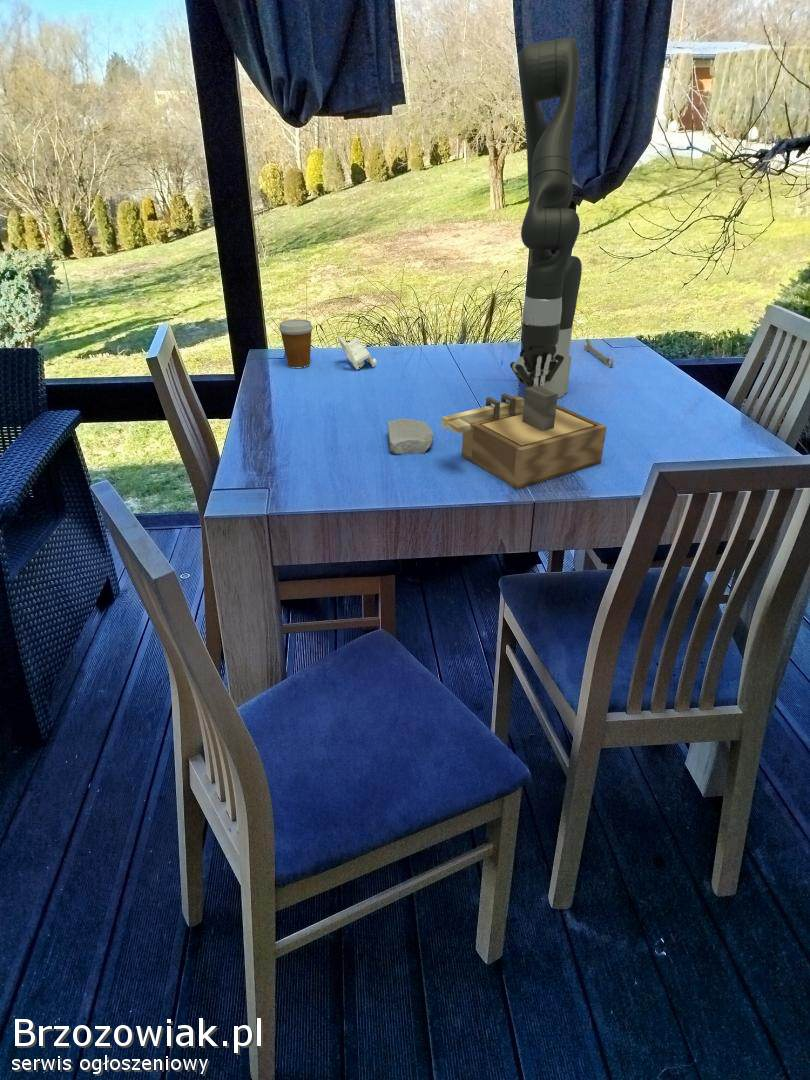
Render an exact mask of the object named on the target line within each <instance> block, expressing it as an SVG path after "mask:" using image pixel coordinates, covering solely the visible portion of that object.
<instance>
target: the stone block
mask: <svg viewBox="0 0 810 1080" xmlns="http://www.w3.org/2000/svg"><path fill="white" fill-rule="evenodd" d="M387 437H388V442H389V444H388V445H389V452H390V453H392V454H393V455H407V454H415V455H416V454H418V455H419V454H425V453H426V452H427V451H428V449H429V448H430V447H431V446H432V444H433V440H434V439H433V438H434V433H433V431H432V429H431V427H430V425H429V424H428V423H427V422H424V421H422V420H417V419H412V418H397V419H392V420H390V421H388V422H387Z"/></svg>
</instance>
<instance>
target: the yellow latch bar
mask: <svg viewBox="0 0 810 1080" xmlns="http://www.w3.org/2000/svg"><path fill="white" fill-rule="evenodd" d="M511 396H512V397H514V398H516V402H515V413H519V412H523V405H524V398H525V397H524V398H523V397H522V396H519V395H516V394H514V395H511ZM494 408H495V405H494V404H491V405H490V406H486V405H485V406H483V407H478V408H474V409H471V410H465V411H461V412H457V413H453V414H449V415H445V416H444V415H443V416H441V427H442V428H443V429H445V430H450V431H452V432H453V433H455V434H458V435H459V434H463V432H467V431H471V425H470V424H471V423H475V422H479V421H483V420H487V419H491V418H494ZM509 410H510V401H509V400H506V402H503V403H501V402H500V414H499V416H503V415H507V414H509Z"/></svg>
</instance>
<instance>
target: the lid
mask: <svg viewBox="0 0 810 1080" xmlns="http://www.w3.org/2000/svg"><path fill="white" fill-rule="evenodd" d="M558 399H559V398H558V394H557V393H554V392H552V391H550V390H547V389H545V388H542V387H540V386H538V385H536V386H532V387H528V386H527V387H525V390H524V404H523V405H524V409H523V414H521V415H517V416H513V417H509V418H505V419H501V420H497V421H493V422H489V423H485V424H482V426H483V427H485V428H487V429H489V430H491V431H493V432H494V433H496V434H498V435H500V436H502V437H504V438H506V439H508V440H510V441H511V442H513V443H515V444H517V445H519V446H521V447H523V446H527V445H530V444H534V443H538V442H541V441H545V440H549V439H552V438H556V437H559V436H563V435H567V434H570V433H574V432H577V431H581V430H585V429H588V428H592V427H594V425H592V424H590V423H588V422H585V421H583V420H581V419H579V418H576V417H574V416H572V415H569V414H567V413H565V412H563V411H560V410H558V409H556V406H557V405H558Z"/></svg>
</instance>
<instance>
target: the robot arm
mask: <svg viewBox="0 0 810 1080" xmlns="http://www.w3.org/2000/svg"><path fill="white" fill-rule="evenodd" d="M518 60H519V61H518V70H519V71H518V73H519V74H518V75H519V84H520V85H519V86H520V94H521V103H522V112H523V119H524V130H525V139H526V161H527V163H526V164H527V166H526V167H527V186H528V198H529V201H528V202H529V203H528V206H527V210H526V213H525V215H524V218H523V221H522V225H521V230H520V238H521V241H522V244H523V245H524V246H525V248H526V249H529V250H531V265H530V266H529V267H528V270H527V274H526V275H527V276H526V286H525V287H526V288H525V298H524V303H523V307H522V309H523V310H522V317H521V318H522V319H521V320H522V321H521V331H520V342H521V350H520V353H519V358H518V359H517V360H516V361H512V362H510V365H509V367H510V368H511V370H512V372H513V373H514V375H515V376H516V379H518V381H519V382H520V383H521V384H523V385H525V386H527V388H528V387H532V386H536V385H538V386H540V387H542V388H545V389H547V390H550V391H552V392H554V393H557V394H558V398H557V399H559V398H562V397H563V396H564V395H565V394H567V393H568V390H569V389H568V387H569V382H570V381H569V380H570V374H571V372H570V371H571V365H572V356H571V355H570V351H571V342H572V341H571V340H572V333H573V326H574V319H575V315H576V310H577V304H578V303H577V302H578V296H579V290H580V284H581V280H582V273H583V271H582V269H583V268H582V266H583V265H582V264H583V263H582V261H581V259H580V258H579V256H575V255H571V254H572V251H573V249H574V246H575V245H576V241H577V240H578V236H579V233H580V229H581V221H580V217H579V214H578V213H577V211H576V210H575V209H573V208H570V205H571V202H572V198H573V191H574V190H573V189H574V188H573V186H574V185H573V165H572V162H571V148H572V138H573V133H574V131H573V130H574V125H575V120H576V119H575V118H576V111H577V110H576V109H577V101H578V93H579V84H580V51H579V46H578V43H577V41H576V39H575V38H573V37H563V38H557V39H552V40H545V41H540V42H535V43H530V44H527V45H525V46H523V47H522V49H521V51H520V54H519V59H518ZM557 98H560V99H559V102H558V106H557V108H556V110H555V112H554V114H553V116H552V118H551V120H550V122H549V123H547V122H546V119H545V117H544V115H543V114H544V113H543V112H542V109H541V104H540V101H545V100H550V99H557ZM552 250H553V251H554V250H556V251H555V253H552Z"/></svg>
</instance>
